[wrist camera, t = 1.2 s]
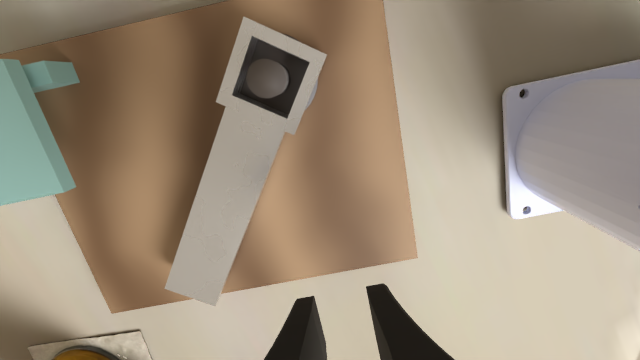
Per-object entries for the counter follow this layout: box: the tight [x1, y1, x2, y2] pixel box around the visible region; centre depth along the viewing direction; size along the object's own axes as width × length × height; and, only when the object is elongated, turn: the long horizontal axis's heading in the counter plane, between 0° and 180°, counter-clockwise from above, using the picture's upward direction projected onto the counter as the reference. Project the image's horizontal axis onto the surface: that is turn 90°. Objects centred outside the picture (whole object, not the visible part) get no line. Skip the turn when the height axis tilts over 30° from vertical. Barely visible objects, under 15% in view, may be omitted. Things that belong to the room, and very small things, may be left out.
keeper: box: [0, 59, 80, 206], centre depth 17 cm, size 6×6×4 cm
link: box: [164, 17, 327, 306], centre depth 17 cm, size 15×4×2 cm, turn 157°
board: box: [0, 0, 418, 313], centre depth 17 cm, size 20×16×4 cm
